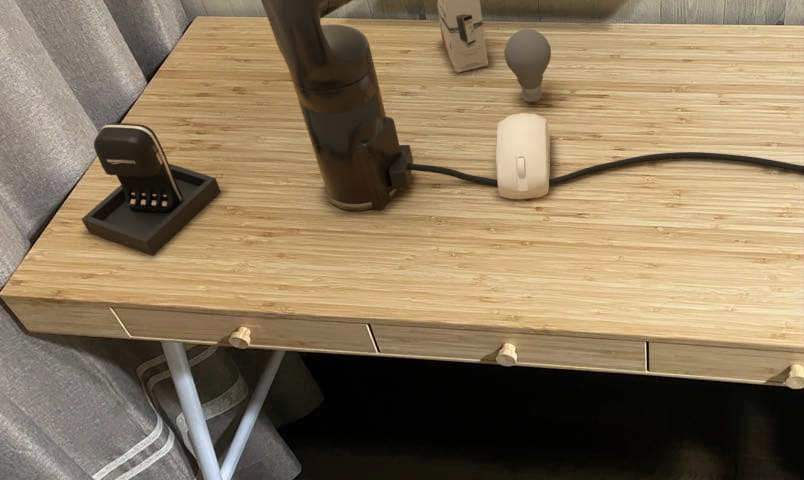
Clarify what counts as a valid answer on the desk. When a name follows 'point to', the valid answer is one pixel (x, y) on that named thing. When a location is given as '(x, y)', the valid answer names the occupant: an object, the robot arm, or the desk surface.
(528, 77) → the light bulb
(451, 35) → the ink box
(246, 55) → the desk surface
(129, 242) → the dock pad
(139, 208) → the battery charger
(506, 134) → the computer mouse
